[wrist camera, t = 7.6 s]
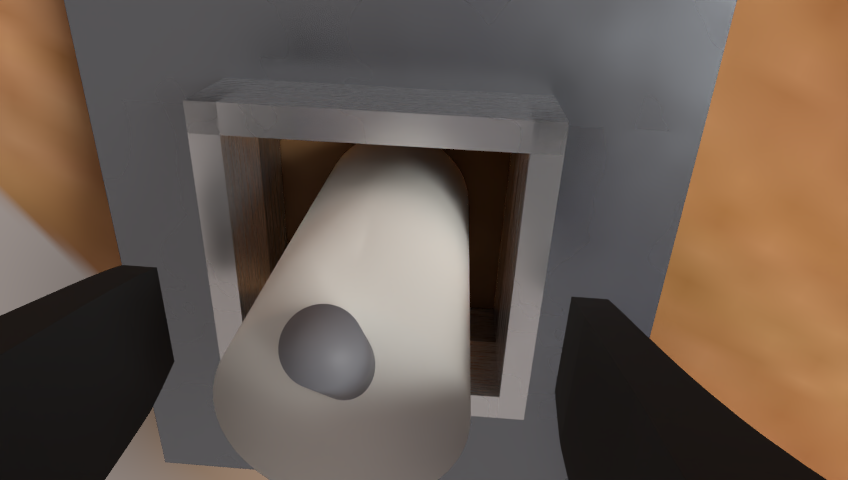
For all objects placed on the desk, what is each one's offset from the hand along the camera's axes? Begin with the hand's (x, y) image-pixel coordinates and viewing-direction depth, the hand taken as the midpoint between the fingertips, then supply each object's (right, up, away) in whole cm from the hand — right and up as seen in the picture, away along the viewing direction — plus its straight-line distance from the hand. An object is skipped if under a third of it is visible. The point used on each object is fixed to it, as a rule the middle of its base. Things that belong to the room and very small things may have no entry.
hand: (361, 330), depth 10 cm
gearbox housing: (0, +2, +5) cm, 5 cm away
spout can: (0, +2, +5) cm, 5 cm away
